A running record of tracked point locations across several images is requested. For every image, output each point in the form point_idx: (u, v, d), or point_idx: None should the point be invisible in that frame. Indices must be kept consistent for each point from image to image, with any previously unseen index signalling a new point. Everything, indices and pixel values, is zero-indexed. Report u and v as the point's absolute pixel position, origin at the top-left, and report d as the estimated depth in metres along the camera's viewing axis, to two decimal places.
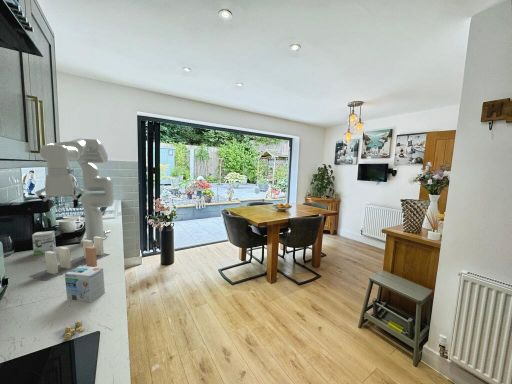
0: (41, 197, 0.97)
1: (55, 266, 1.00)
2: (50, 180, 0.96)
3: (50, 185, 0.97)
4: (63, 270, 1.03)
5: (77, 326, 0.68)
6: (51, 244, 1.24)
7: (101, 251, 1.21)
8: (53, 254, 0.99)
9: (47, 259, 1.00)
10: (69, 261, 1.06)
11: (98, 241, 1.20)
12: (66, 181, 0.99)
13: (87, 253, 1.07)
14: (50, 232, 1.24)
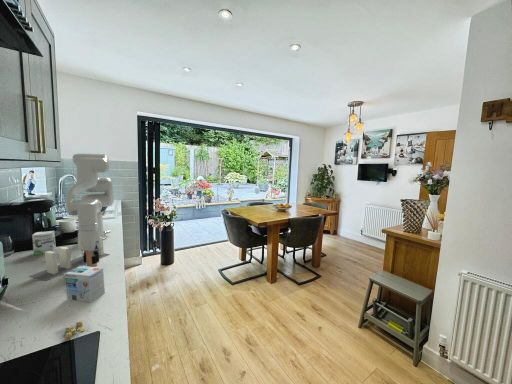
0: None
1: (55, 266, 1.00)
2: None
3: None
4: (63, 270, 1.03)
5: (78, 326, 0.68)
6: (51, 244, 1.24)
7: (101, 251, 1.21)
8: (53, 254, 0.99)
9: (47, 259, 1.00)
10: (69, 261, 1.06)
11: None
12: None
13: (87, 253, 1.07)
14: (50, 232, 1.24)
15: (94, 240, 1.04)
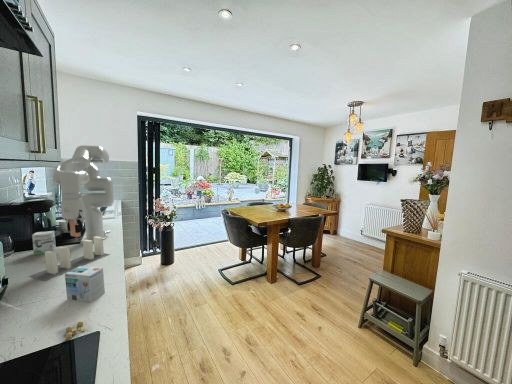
0: None
1: (55, 266, 1.00)
2: None
3: None
4: (63, 270, 1.03)
5: (79, 326, 0.69)
6: (51, 244, 1.24)
7: (101, 251, 1.21)
8: (53, 254, 0.99)
9: (47, 259, 1.00)
10: (69, 261, 1.06)
11: (98, 241, 1.20)
12: None
13: (71, 222, 1.09)
14: (50, 232, 1.24)
15: (77, 209, 1.05)
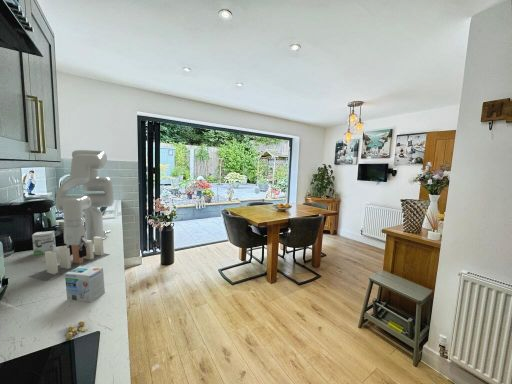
0: None
1: (55, 266, 1.00)
2: None
3: None
4: (63, 270, 1.03)
5: (80, 326, 0.69)
6: (51, 244, 1.24)
7: (101, 251, 1.21)
8: (53, 254, 0.99)
9: (47, 259, 1.00)
10: (69, 261, 1.06)
11: (98, 241, 1.20)
12: None
13: (73, 249, 1.10)
14: (50, 232, 1.24)
15: (79, 235, 1.07)
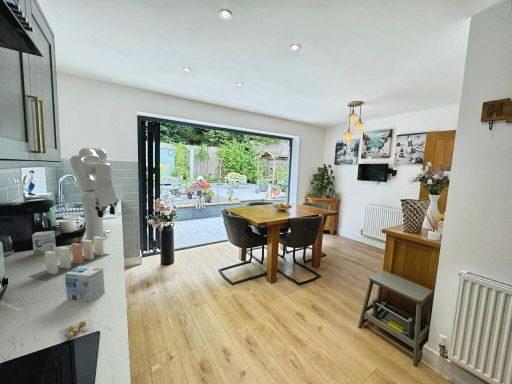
0: (97, 207, 1.19)
1: (55, 266, 1.00)
2: (103, 192, 1.20)
3: (103, 196, 1.20)
4: (63, 270, 1.03)
5: (81, 326, 0.69)
6: (51, 244, 1.24)
7: (101, 251, 1.21)
8: (53, 254, 0.99)
9: (47, 259, 1.00)
10: (69, 261, 1.06)
11: (98, 241, 1.20)
12: (112, 191, 1.25)
13: (73, 249, 1.10)
14: (50, 232, 1.24)
15: (94, 196, 1.19)
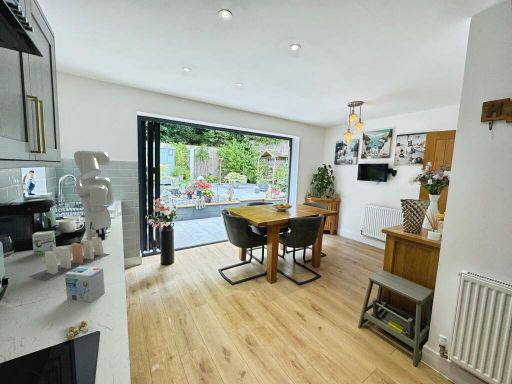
0: (98, 231, 1.20)
1: (55, 266, 1.00)
2: (98, 216, 1.18)
3: (98, 220, 1.18)
4: (63, 270, 1.03)
5: (82, 326, 0.69)
6: (51, 244, 1.24)
7: (101, 251, 1.21)
8: (53, 254, 0.99)
9: (47, 259, 1.00)
10: (69, 261, 1.06)
11: (97, 241, 1.19)
12: (107, 214, 1.23)
13: (73, 249, 1.10)
14: (50, 232, 1.24)
15: (89, 220, 1.17)
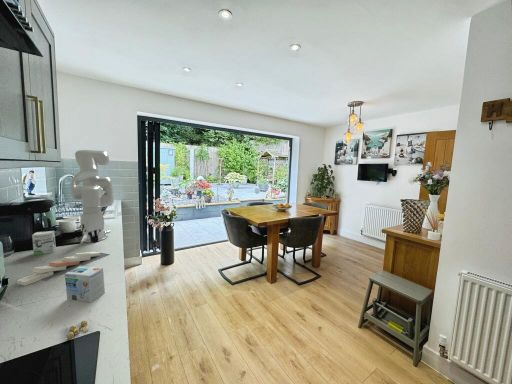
0: (90, 233, 1.16)
1: (44, 276, 0.96)
2: (90, 218, 1.14)
3: (90, 222, 1.14)
4: (63, 270, 1.03)
5: (82, 326, 0.69)
6: (51, 244, 1.24)
7: (96, 255, 1.18)
8: (26, 283, 0.91)
9: None
10: (58, 268, 1.01)
11: (84, 256, 1.13)
12: (100, 216, 1.19)
13: None
14: (50, 232, 1.24)
15: (81, 222, 1.13)
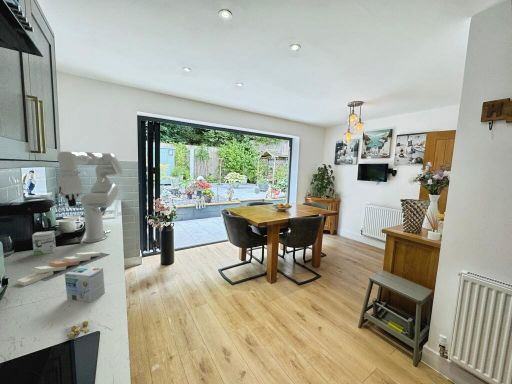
0: (67, 196, 1.20)
1: (44, 276, 0.96)
2: (67, 181, 1.18)
3: (67, 185, 1.18)
4: (63, 270, 1.03)
5: (84, 325, 0.69)
6: (51, 244, 1.24)
7: (96, 255, 1.18)
8: (26, 283, 0.91)
9: None
10: (58, 268, 1.01)
11: (84, 256, 1.13)
12: (77, 181, 1.23)
13: None
14: (50, 232, 1.24)
15: (58, 185, 1.17)
